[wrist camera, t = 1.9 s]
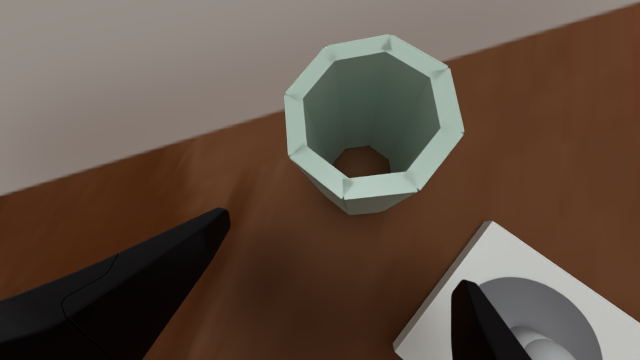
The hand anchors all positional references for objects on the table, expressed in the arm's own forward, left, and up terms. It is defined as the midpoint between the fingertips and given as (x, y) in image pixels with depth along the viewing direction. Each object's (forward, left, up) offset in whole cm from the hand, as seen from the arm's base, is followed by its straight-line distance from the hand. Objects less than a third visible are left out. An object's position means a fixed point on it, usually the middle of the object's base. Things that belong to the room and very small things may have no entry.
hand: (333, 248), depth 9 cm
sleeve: (+5, +2, -12) cm, 13 cm away
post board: (+2, -14, -12) cm, 18 cm away
